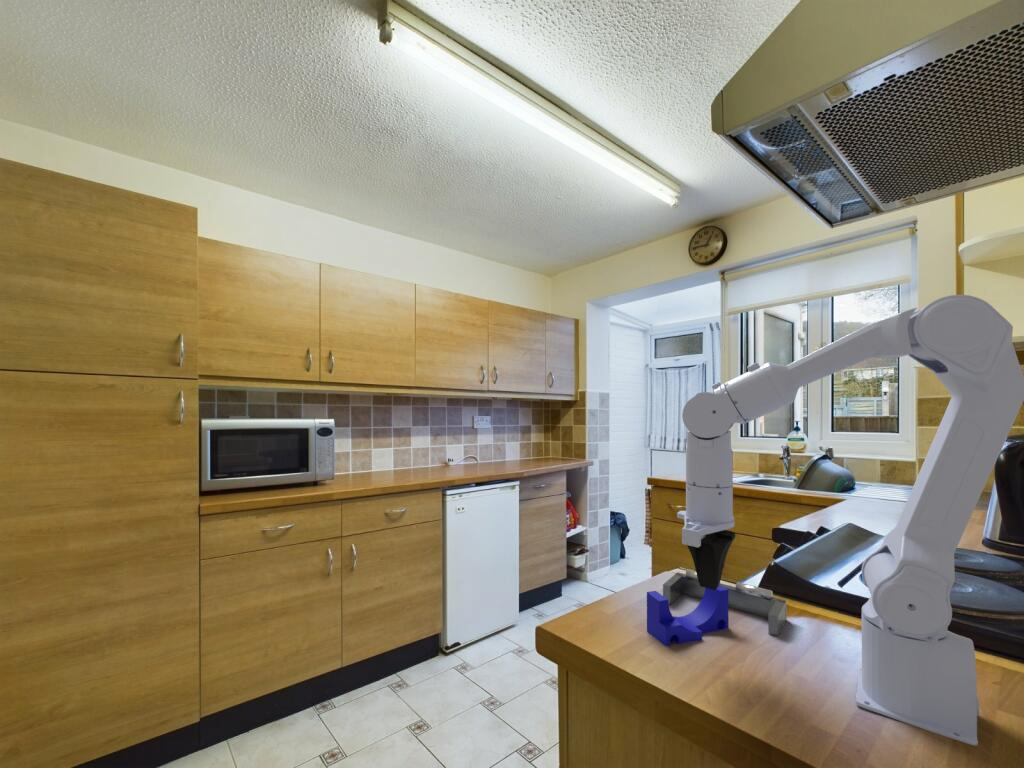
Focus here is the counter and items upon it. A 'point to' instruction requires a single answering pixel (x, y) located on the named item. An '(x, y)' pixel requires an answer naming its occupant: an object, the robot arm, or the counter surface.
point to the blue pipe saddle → (687, 617)
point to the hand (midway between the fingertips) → (709, 586)
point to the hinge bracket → (733, 598)
